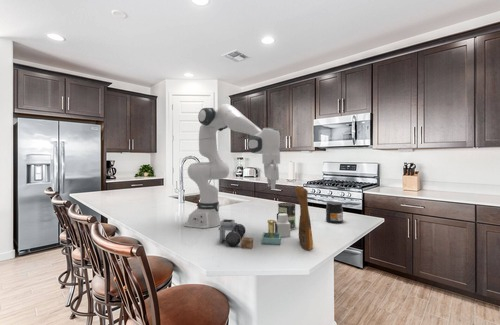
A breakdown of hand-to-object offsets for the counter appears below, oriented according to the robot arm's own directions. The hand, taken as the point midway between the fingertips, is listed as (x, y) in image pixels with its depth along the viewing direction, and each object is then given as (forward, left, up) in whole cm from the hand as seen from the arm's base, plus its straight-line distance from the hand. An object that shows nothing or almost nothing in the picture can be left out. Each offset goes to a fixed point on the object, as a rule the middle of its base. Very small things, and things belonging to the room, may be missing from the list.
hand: (271, 187), depth 125 cm
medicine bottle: (+5, +11, -27) cm, 30 cm away
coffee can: (+7, +25, -27) cm, 38 cm away
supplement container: (+37, +43, -27) cm, 63 cm away
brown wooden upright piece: (+16, -2, -27) cm, 32 cm away
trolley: (-20, -3, -27) cm, 33 cm away
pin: (0, 0, -26) cm, 26 cm away
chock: (-11, -9, -27) cm, 31 cm away
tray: (0, 0, -27) cm, 27 cm away
